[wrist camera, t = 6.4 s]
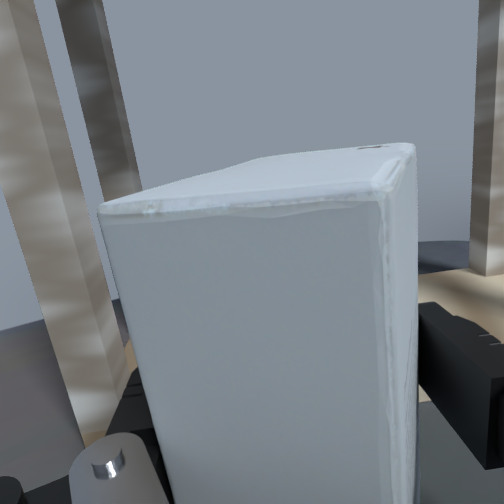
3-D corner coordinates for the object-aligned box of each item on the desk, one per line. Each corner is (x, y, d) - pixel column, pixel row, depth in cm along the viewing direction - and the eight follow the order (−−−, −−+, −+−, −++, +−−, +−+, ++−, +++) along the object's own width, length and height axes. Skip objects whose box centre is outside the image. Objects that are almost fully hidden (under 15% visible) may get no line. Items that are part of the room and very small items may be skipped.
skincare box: (295, 486, 14) (254, 156, 10) (422, 522, 12) (422, 137, 9) (215, 708, 9) (80, 199, 5) (414, 831, 7) (409, 174, 3)
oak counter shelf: (86, 451, 17) (-135, -237, 10) (144, 326, 28) (58, -37, 22) (667, 365, 17) (824, -350, 11) (493, 276, 29) (516, -95, 22)
